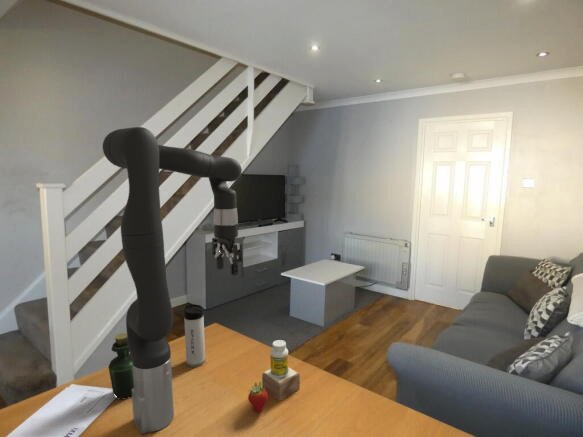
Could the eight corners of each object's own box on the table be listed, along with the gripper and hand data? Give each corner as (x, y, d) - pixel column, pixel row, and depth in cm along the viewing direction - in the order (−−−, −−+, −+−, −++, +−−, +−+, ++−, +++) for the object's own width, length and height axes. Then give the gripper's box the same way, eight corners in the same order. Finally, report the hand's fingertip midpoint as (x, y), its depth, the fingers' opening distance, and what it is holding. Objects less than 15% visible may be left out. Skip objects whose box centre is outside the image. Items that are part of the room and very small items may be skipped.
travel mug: (196, 355, 123) (194, 301, 120) (208, 361, 119) (207, 306, 116) (181, 362, 118) (179, 307, 115) (194, 369, 114) (191, 312, 111)
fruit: (255, 402, 98) (254, 376, 97) (271, 408, 96) (271, 381, 95) (245, 414, 93) (244, 387, 92) (262, 420, 91) (261, 392, 90)
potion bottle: (142, 396, 100) (138, 338, 98) (110, 405, 97) (106, 345, 94) (139, 381, 108) (136, 327, 105) (110, 389, 104) (106, 333, 101)
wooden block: (279, 401, 99) (279, 384, 98) (262, 388, 104) (262, 372, 104) (299, 389, 104) (299, 372, 103) (282, 377, 110) (282, 362, 109)
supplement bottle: (286, 366, 106) (286, 337, 105) (290, 377, 101) (290, 346, 100) (269, 369, 105) (268, 339, 104) (272, 379, 100) (272, 348, 99)
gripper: (204, 221, 111) (205, 269, 114) (227, 226, 101) (229, 279, 103) (224, 218, 116) (225, 265, 119) (248, 223, 106) (249, 274, 108)
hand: (227, 271), depth 111 cm, fingers open, 8 cm apart
